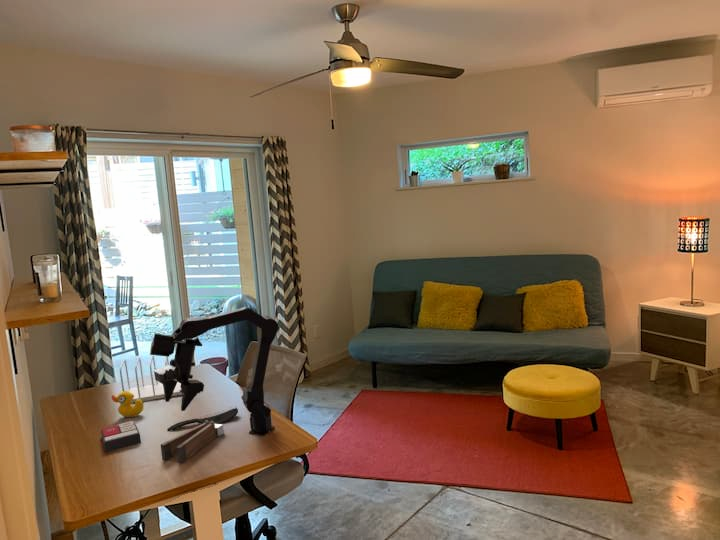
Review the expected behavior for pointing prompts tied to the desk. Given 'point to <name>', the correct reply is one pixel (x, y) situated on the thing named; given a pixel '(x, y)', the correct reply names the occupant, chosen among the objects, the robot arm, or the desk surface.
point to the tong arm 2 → (195, 442)
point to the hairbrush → (209, 419)
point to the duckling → (128, 404)
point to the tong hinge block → (219, 429)
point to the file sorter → (150, 390)
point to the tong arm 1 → (178, 442)
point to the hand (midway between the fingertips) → (174, 406)
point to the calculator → (120, 436)
